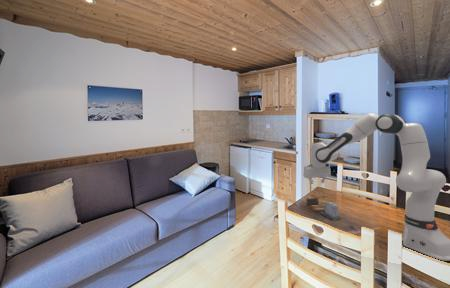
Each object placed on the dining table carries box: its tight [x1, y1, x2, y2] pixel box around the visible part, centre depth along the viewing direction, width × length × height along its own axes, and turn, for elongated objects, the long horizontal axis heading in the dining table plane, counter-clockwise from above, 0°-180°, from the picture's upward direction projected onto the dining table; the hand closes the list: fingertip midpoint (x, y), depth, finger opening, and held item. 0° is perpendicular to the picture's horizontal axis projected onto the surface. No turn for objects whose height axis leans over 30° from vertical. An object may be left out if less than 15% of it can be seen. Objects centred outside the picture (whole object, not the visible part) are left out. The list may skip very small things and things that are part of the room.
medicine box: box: [324, 201, 339, 217], centre depth 146 cm, size 8×4×9 cm, turn 13°
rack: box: [305, 197, 325, 213], centre depth 160 cm, size 12×9×6 cm
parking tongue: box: [319, 211, 342, 221], centre depth 146 cm, size 12×7×2 cm, turn 13°
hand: (317, 183), depth 159 cm, fingers open, 8 cm apart
